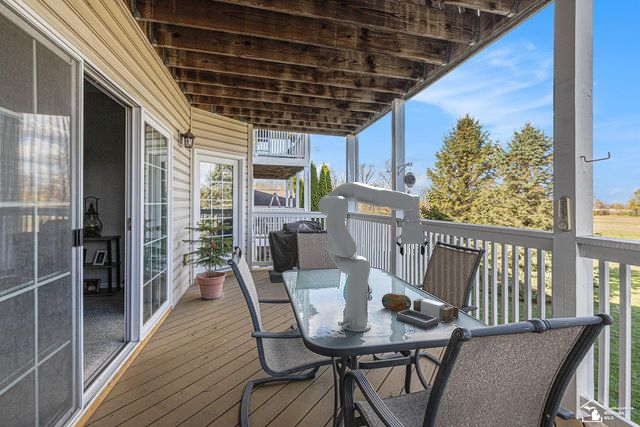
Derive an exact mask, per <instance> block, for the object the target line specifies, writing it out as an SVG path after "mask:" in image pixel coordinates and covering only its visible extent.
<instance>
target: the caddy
mask: <svg viewBox="0 0 640 427" xmlns="http://www.w3.org/2000/svg"><path fill="white" fill-rule="evenodd" d="M445 304H446V303H443V302H440V301H437V300H433V299H429V298H425V299H424V300H421V312H420V313H424V314H427V315H430V316H433V317H436V318H438V321H441V320H442V314H443V308H445Z"/></svg>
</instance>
